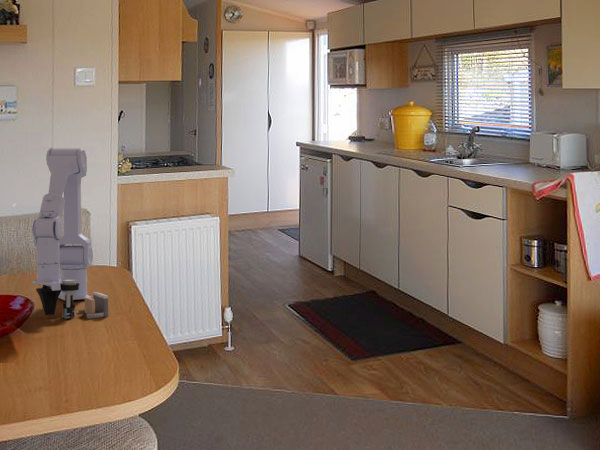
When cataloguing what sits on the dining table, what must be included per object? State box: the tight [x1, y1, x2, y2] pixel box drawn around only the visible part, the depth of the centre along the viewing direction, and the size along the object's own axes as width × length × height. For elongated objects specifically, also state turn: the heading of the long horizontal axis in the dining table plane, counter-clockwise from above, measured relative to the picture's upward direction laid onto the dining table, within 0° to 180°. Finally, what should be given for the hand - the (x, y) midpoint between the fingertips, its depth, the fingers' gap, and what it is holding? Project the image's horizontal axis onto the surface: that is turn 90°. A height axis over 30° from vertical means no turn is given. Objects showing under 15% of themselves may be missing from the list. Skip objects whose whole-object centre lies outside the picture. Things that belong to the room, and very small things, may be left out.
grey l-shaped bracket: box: [77, 291, 109, 320], centre depth 194 cm, size 9×6×6 cm, turn 35°
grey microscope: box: [60, 280, 80, 320], centre depth 190 cm, size 7×5×10 cm
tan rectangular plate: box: [84, 297, 96, 315], centre depth 193 cm, size 6×1×4 cm, turn 35°
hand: (49, 314), depth 187 cm, fingers closed
